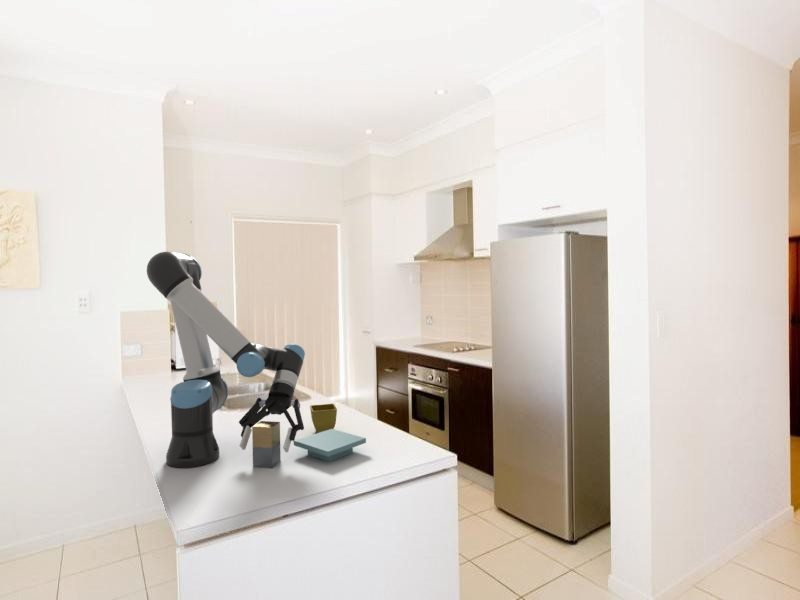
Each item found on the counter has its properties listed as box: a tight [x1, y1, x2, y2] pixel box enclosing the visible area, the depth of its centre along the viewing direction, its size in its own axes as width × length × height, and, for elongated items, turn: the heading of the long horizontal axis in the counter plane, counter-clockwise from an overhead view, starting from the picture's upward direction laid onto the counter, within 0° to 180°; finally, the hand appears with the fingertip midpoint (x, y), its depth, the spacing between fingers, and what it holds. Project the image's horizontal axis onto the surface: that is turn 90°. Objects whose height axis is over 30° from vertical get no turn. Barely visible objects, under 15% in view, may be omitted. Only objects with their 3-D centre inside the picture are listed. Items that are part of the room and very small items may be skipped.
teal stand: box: [293, 428, 367, 462], centre depth 159 cm, size 16×16×4 cm
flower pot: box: [309, 403, 338, 434], centre depth 182 cm, size 9×9×9 cm
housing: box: [251, 420, 281, 469], centre depth 151 cm, size 6×6×12 cm
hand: (263, 449), depth 148 cm, fingers open, 13 cm apart
